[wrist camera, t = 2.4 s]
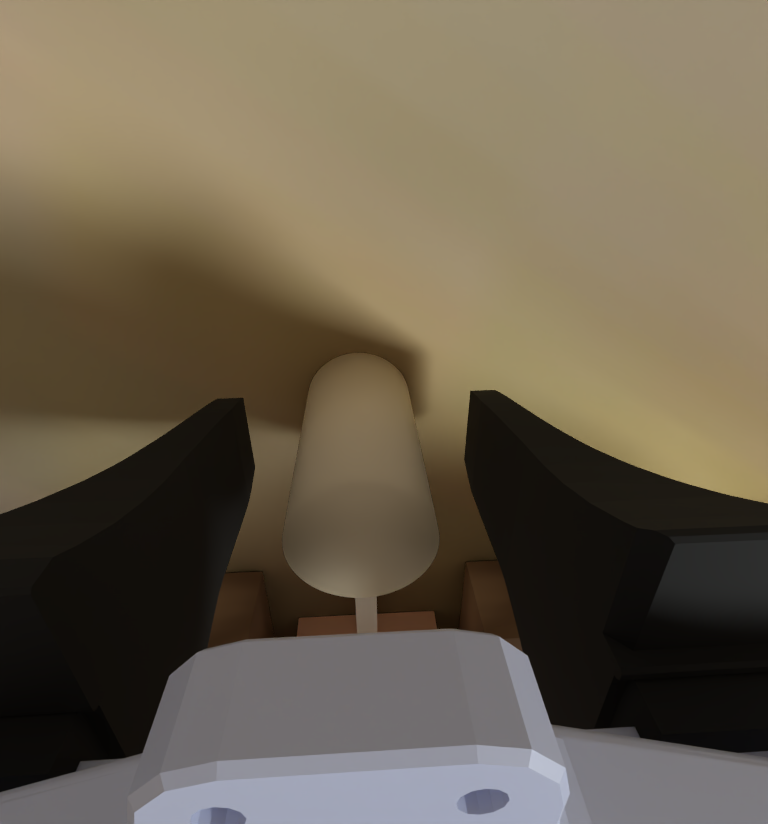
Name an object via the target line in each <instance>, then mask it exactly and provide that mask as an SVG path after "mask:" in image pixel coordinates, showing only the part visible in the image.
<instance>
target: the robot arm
mask: <svg viewBox="0 0 768 824" xmlns="http://www.w3.org/2000/svg"><path fill="white" fill-rule="evenodd" d="M464 460H465V465H466V469H467V474H468V479H469V483H470V487H471V491H472V494H473V497H474V500H475V502H476V505H477V508H478V510H479V513H480V516H481V518H482V521H483V523H484V526H485V529H486V531H487V534H488V536H489V539H490V541H491V544H492V547H493V549H494V552H495V554H496V557H497V559H498V562H499V565H500V568H501V571H502V574H503V577H504V580H505V583H506V587H507V591H508V595H509V599H510V602H511V606H512V610H513V614H514V618H515V622H516V626H517V630H518V634H519V638H520V642H521V646H522V650H523V652H522V651H520V650H519V649H517V648H516V647H514V646H513V645H511V644H510V643H508V642H507V641H505V640H504V639H502V638H501V637H499V636H497V635H494V634H491V633H483V632H475V631H467V630H459V629H432V630H413V631H394V632H375V633H356V634H337V635H318V636H299V637H280V638H261V639H246V640H242V641H237V642H233V643H229V644H224V645H220V646H216V647H211V648H208V643H209V638H210V633H211V628H212V623H213V619H214V614H215V609H216V605H217V600H218V596H219V592H220V588H221V585H222V581H223V578H224V575H225V572H226V569H227V566H228V563H229V560H230V557H231V554H232V551H233V548H234V545H235V542H236V539H237V536H238V533H239V530H240V527H241V524H242V521H243V518H244V515H245V512H246V509H247V506H248V503H249V499H250V493H251V488H252V482H253V476H254V470H255V464H254V458H253V453H252V447H251V441H250V435H249V429H248V423H247V417H246V412H245V406H244V400H243V398H228V399H217V400H215V401H213V402H211V403H210V404H208V405H206V406H205V407H203V408H202V409H201V410H199V411H198V412H196V413H195V414H193V415H192V416H191V417H189V418H188V419H186V420H185V421H183V422H182V423H181V424H179V425H178V426H176V427H175V428H173V429H172V430H170V431H169V432H168V433H166V434H165V435H163V436H162V437H160V438H158V439H157V440H155V441H154V442H152V443H150V444H149V445H147V446H146V447H144V448H143V449H141V450H139V451H138V452H136V453H135V454H133V455H131V456H130V457H128V458H126V459H124V460H123V461H121V462H119V463H117V464H115V465H114V466H112V467H110V468H108V469H106V470H104V471H102V472H100V473H98V474H96V475H94V476H92V477H90V478H88V479H86V480H84V481H82V482H80V483H77V484H75V485H73V486H70V487H68V488H66V489H63V490H61V491H59V492H56V493H54V494H52V495H49V496H47V497H45V498H42V499H40V500H38V501H35V502H33V503H30V504H27V505H25V506H22V507H19V508H17V509H14V510H11V511H8V512H6V513H3V514H0V824H768V504H767V503H763V502H758V501H753V500H748V499H743V498H739V497H734V496H730V495H726V494H722V493H718V492H714V491H711V490H707V489H703V488H700V487H696V486H692V485H689V484H686V483H682V482H679V481H676V480H673V479H669V478H666V477H663V476H661V475H658V474H655V473H652V472H649V471H647V470H644V469H641V468H638V467H636V466H633V465H630V464H628V463H625V462H623V461H621V460H618V459H616V458H614V457H612V456H609V455H607V454H605V453H603V452H600V451H598V450H596V449H594V448H592V447H590V446H588V445H586V444H584V443H582V442H580V441H578V440H576V439H575V438H573V437H571V436H569V435H567V434H566V433H564V432H562V431H560V430H559V429H557V428H555V427H553V426H552V425H550V424H549V423H547V422H545V421H544V420H542V419H540V418H539V417H537V416H536V415H534V414H533V413H531V412H530V411H528V410H526V409H525V408H523V407H522V406H520V405H519V404H517V403H516V402H514V401H513V400H511V399H510V398H508V397H506V396H505V395H503V394H501V393H500V392H498V391H496V390H484V391H470V402H469V413H468V424H467V435H466V446H465V457H464Z"/></svg>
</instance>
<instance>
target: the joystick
mask: <svg viewBox="0 0 768 824" xmlns="http://www.w3.org/2000/svg"><path fill="white" fill-rule="evenodd" d="M438 547H439V529H438V524H437V520H436V515H435V511H434V506H433V501H432V497H431V492H430V488H429V483H428V478H427V474H426V469H425V465H424V460H423V455H422V451H421V446H420V441H419V437H418V432H417V428H416V423H415V418H414V414H413V409H412V405H411V400H410V395H409V391H408V386H407V384H406V381H405V379H404V377H403V375H402V374H401V373H400V371H399V370H398V369H397V368H396V367H395V366H394V365H393V364H391V363H390V362H389V361H387V360H385V359H384V358H381V357H379V356H376V355H373V354H368V353H349V354H345V355H341V356H338V357H336V358H334V359H332V360H330V361H329V362H327V363H326V364H324V365H323V366H322V367H321V368H320V369H319V370H318V371H317V373H316V374H315V376H314V377H313V379H312V381H311V384H310V387H309V391H308V397H307V402H306V408H305V413H304V419H303V424H302V430H301V435H300V441H299V446H298V452H297V457H296V463H295V468H294V474H293V479H292V485H291V490H290V496H289V501H288V507H287V513H286V518H285V524H284V529H283V536H282V548H283V552H284V556H285V558H286V561H287V563H288V564H289V566H290V567H291V569H292V570H293V571H294V572H295V574H296V575H297V576H298V577H300V578H301V579H302V580H303V581H304V582H306V583H307V584H309V585H310V586H312V587H314V588H316V589H318V590H321V591H323V592H326V593H329V594H332V595H336V596H342V597H351V598H355V604H356V615H343V616H323V617H304V618H299V621H298V630H297V637H299V636H318V635H337V634H356V633H375V632H394V631H413V630H432V629H437V625H436V620H435V614H434V611H420V612H401V613H382V614H377V596H380V595H385V594H388V593H392V592H394V591H397V590H399V589H401V588H403V587H405V586H407V585H409V584H411V583H412V582H414V581H415V580H416V579H418V578H419V577H420V576H421V575H422V574H423V573H424V572H425V571H426V570H427V569H428V568H429V566H430V565H431V564H432V562H433V560H434V558H435V556H436V554H437V551H438Z"/></svg>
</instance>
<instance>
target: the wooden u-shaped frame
mask: <svg viewBox="0 0 768 824" xmlns="http://www.w3.org/2000/svg"><path fill="white" fill-rule="evenodd" d="M459 630H467V631H475V632H483V633H491V634H494V635H497V636H499V637H501V638H502V639H504V640H505V641H507V642H508V643H510V644H511V645H513V646H514V647H516V648H517V649H519V650H520V651H522V652H523V650H522V646H521V642H520V638H519V634H518V630H517V626H516V622H515V618H514V614H513V610H512V606H511V602H510V599H509V595H508V591H507V587H506V583H505V580H504V577H503V574H502V571H501V568H500V565H499V562H498V560H496V561H475V562H466V566H465V575H464V585H463V594H462V603H461V613H460V622H459ZM261 638H275V636H274V631H273V626H272V620H271V615H270V610H269V604H268V599H267V593H266V588H265V583H264V577H263V572H262V571H261V572H240V573H225V575H224V578H223V581H222V585H221V588H220V592H219V596H218V600H217V605H216V609H215V614H214V619H213V623H212V628H211V633H210V638H209V643H208V648H211V647H216V646H220V645H224V644H229V643H233V642H237V641H242V640H246V639H261Z"/></svg>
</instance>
